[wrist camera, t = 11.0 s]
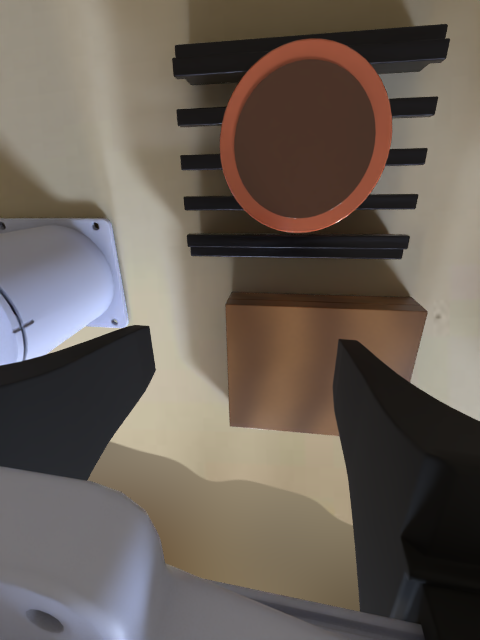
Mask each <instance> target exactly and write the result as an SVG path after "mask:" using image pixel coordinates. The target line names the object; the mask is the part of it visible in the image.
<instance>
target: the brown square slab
mask: <svg viewBox="0 0 480 640" xmlns="http://www.w3.org/2000/svg"><path fill="white" fill-rule="evenodd" d="M225 307H226V334H227V362H228V390H229V417H230V426H232V427H243V428H255V429H266V430H277V431H289V432H300V433H312V434H323V435H334V436H339V431H338V426H337V422H336V417H335V412H334V402H333V379H334V371H335V363H336V356H337V348H338V340H339V339H348V340H357V341H359V342H360V343H361V344H362V345H364V346H365V347H366V348H367V349H368V350H369V351H370V352H372V353H373V354H374V355H375V356H376V357H377V358H379V359H380V360H381V361H382V362H383V363H385V364H386V365H387V366H388V367H390V368H391V369H392V370H393V371H395V372H396V373H397V374H399V375H400V376H401V377H403V378H404V379H406V380H407V381H408V382H410V380H411V376H412V372H413V368H414V364H415V360H416V356H417V352H418V348H419V344H420V340H421V336H422V332H423V328H424V324H425V320H426V316H427V310H425V309H424V308H423V307H422V306H420V304H419V303H417V302H416V301H415V300H414V299H413V298H412V297H380V296H347V295H314V294H281V293H248V292H232V293H231V295H230V297H229V299H228V301H227V303H226V305H225Z"/></svg>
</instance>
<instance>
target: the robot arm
mask: <svg viewBox="0 0 480 640" xmlns="http://www.w3.org/2000/svg"><path fill="white" fill-rule="evenodd" d="M3 223H4V224H5V226H6V228H5V227H4V226H3ZM95 223H97V224H98V225H99V229H97V228H96V227H95ZM114 319H116V320H117V323H116V322H114ZM128 323H129V319H128V314H127V308H126V302H125V296H124V291H123V285H122V279H121V274H120V268H119V262H118V257H117V251H116V245H115V240H114V234H113V228H112V224H111V222H110V221H109V220H108V219H106V218H0V640H480V421H478V420H475V419H473V418H471V417H469V416H467V415H465V414H463V413H461V412H459V411H457V410H455V409H453V408H451V407H449V406H448V405H446V404H444V403H442V402H440V401H438V400H437V399H435V398H433V397H432V396H430V395H429V394H427V393H425V392H424V391H422V390H420V389H419V388H417V387H416V386H414V385H413V384H411V383H410V382H408V381H407V380H406V379H404V378H403V377H401V376H400V375H399V374H397V373H396V372H395V371H393V370H392V369H391V368H390V367H388V366H387V365H386V364H385V363H383V362H382V361H381V360H380V359H379V358H377V357H376V356H375V355H374V354H373V353H372V352H370V351H369V350H368V349H367V348H366V347H365V346H364V345H362V344H361V343H360V342H359V341H357V340H348V339H339V340H338V348H337V356H336V363H335V371H334V379H333V402H334V412H335V417H336V422H337V426H338V431H339V436H340V440H341V445H342V450H343V454H344V459H345V463H346V468H347V474H348V481H349V490H350V499H351V508H352V519H353V529H354V540H355V551H356V563H357V576H358V587H359V602H360V612H359V611H354V610H349V609H345V608H340V607H335V606H331V605H325V604H321V603H316V602H312V601H306V600H302V599H297V598H292V597H288V596H283V595H278V594H274V593H269V592H264V591H259V590H255V589H250V588H245V587H240V586H236V585H231V584H226V583H222V582H217V581H212V580H207V579H202V578H200V577H197V576H195V575H193V574H190V573H188V572H185V571H183V570H181V569H178V568H176V567H173V566H171V565H168V564H165V561H164V555H163V550H162V545H161V540H160V537H159V535H158V533H157V530H156V529H155V527H154V525H153V523H152V521H151V520H150V518H149V516H148V514H147V512H146V511H145V510H144V509H143V508H142V507H140V506H139V505H138V504H136V503H135V502H134V501H132V500H131V499H130V498H129V497H127V496H126V495H125V494H123V493H122V492H120V491H117V490H115V489H112V488H109V487H106V486H103V485H100V484H98V483H95V482H91V481H87V480H88V478H89V476H90V474H91V472H92V470H93V469H94V467H95V465H96V463H97V461H98V460H99V458H100V456H101V454H102V453H103V451H104V449H105V448H106V446H107V444H108V443H109V441H110V440H111V438H112V437H113V435H114V434H115V432H116V431H117V430H118V428H119V427H120V426H121V424H122V423H123V421H124V420H125V419H126V417H127V416H128V415H129V413H130V412H131V410H132V409H133V408H134V406H135V405H136V403H137V402H138V401H139V399H140V398H141V396H142V395H143V394H144V392H145V391H146V389H147V387H148V385H149V383H150V381H151V379H152V377H153V375H154V373H155V371H156V369H155V362H154V355H153V349H152V342H151V335H150V328H149V326H140V325H133V326H129V327H126V326H127V325H128ZM85 326H92V327H113V328H122V329H119V330H116V331H113V332H110V333H108V334H105V335H102V336H100V337H97V338H94V339H92V340H89V341H86V342H83V343H80V344H77V345H74V346H72V347H69V348H66V349H63V350H60V351H57V352H54V353H50V354H47V353H48V352H50V351H51V350H52V349H54V348H55V347H57V346H58V345H60V344H61V343H62V342H64V341H65V340H67V339H68V338H69V337H71V336H72V335H74V334H75V333H76V332H78V331H79V330H81V329H82V328H83V327H85ZM124 327H125V328H124ZM45 354H47V355H45Z"/></svg>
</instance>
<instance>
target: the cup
mask: <svg viewBox="0 0 480 640" xmlns="http://www.w3.org/2000/svg"><path fill="white" fill-rule="evenodd" d="M391 138H392V114H391V107H390V102H389V99H388V95H387V92H386V89H385V87H384V85H383V83H382V80H381V79H380V77H379V75H378V74H377V72H376V71H375V69H374V68H373V67H372V66H371V64H370V63H369V62H368V61H367V60H366V59H365V58H364V57H363V56H361V55H360V54H359V53H358V52H356V51H355V50H353V49H351V48H350V47H348V46H346V45H344V44H341V43H338V42H336V41H332V40H326V39H302V40H296V41H293V42H290V43H287V44H284V45H282V46H280V47H278V48H276V49H274V50H272V51H270V52H269V53H267V54H266V55H265V56H263V57H262V58H260V59H259V60H258V61H257V62H256V63H255V64H254V65H253V66H252V67H251V68H250V69H249V70H248V71H247V72H246V73H245V75H244V76H243V77H242V79H241V80H240V82H239V83H238V85H237V86H236V88H235V89H234V91H233V93H232V95H231V97H230V99H229V102H228V104H227V107H226V110H225V113H224V117H223V121H222V126H221V133H220V157H221V164H222V169H223V173H224V176H225V179H226V182H227V184H228V186H229V189H230V191H231V193H232V194H233V196H234V197H235V199H236V201H237V202H238V203H239V204H240V206H241V207H242V208H243V209H244V210H245V211H246V212H247V213H248V214H249V215H250V216H251V217H253V218H254V219H255V220H257V221H258V222H260V223H262V224H264V225H266V226H268V227H270V228H273V229H276V230H279V231H284V232H291V233H305V232H312V231H317V230H320V229H323V228H326V227H329V226H331V225H333V224H335V223H337V222H339V221H340V220H342V219H344V218H345V217H347V216H348V215H349V214H351V213H352V212H353V211H354V210H356V209H357V208H358V207H359V206H360V205H361V204H362V203H363V201H364V200H365V199H366V198H367V197H368V195H369V194H370V193H371V192H372V190H373V188H374V187H375V185H376V184H377V182H378V180H379V178H380V176H381V174H382V172H383V170H384V167H385V164H386V161H387V158H388V155H389V150H390V146H391Z"/></svg>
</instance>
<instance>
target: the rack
mask: <svg viewBox="0 0 480 640" xmlns="http://www.w3.org/2000/svg"><path fill="white" fill-rule="evenodd" d="M447 27H448V25H447V24H440V25H427V26H414V27H401V28H388V29H375V30H363V31H350V32H337V33H324V34H311V35H298V36H285V37H272V38H260V39H247V40H234V41H221V42H208V43H195V44H182V45H175V56H176V58H173V59H172V61H173V73H174V77H175V78H176V79H186V80H187V81H188V82H189V83H190V84H191V85H201V84H217V83H234V82H240V80H241V79H242V77H243V76H244V75H245V73H246V72H247V71H248V70H249V69H250V68H251V67H252V66H253V65H254V64H255V63H256V62H257V61H258V60H259V59H260V58H262V57H263V56H265V55H266V54H267V53H269V52H270V51H272V50H274V49H276V48H278V47H280V46H282V45H284V44H287V43H290V42H293V41H296V40H302V39H326V40H332V41H336V42H338V43H341V44H344V45H346V46H348V47H350V48H351V49H353V50H355V51H356V52H358V53H359V54H360V55H361V56H363V57H364V58H365V59H366V60H367V61H368V62H369V63H370V64H371V66H372V67H373V68H374V69H375V71H376V72H377V74H385V73H402V72H419V71H421V70H422V69H423V68H424V67H426V66H427V65H428V64H429V63H441V62H442V61H444V60H445V59H446V56H447V52H448V47H449V42H450V39H449V38H446V39H445V37H446V32H447ZM437 101H438V97H437V96H436V97H416V98H396V99H389V102H390V107H391V114H392V118H416V117H431V116H433V115H434V114H435V111H436V106H437ZM225 110H226V107H213V108H193V109H177V122H178V126H180V127H198V126H222V121H223V117H224V113H225ZM426 155H427V148H413V149H390V150H389V155H388V158H387V161H386V164H385V166H409V165H424V164H425V159H426ZM180 158H181V169H182V170H185V171H186V170H223V169H222V164H221V157H220V154H207V155H181V156H180ZM417 199H418V194H369V195H368V197H367V198H366V199H365V200H364V201H363V203H362V204H361V205H360V206H359V207H358V208H357V209H356V210H363V209H415V208H416V204H417ZM184 207H185V210H244V209H243V208H242V207H241V206H240V204H239V203H238V202H237V201H236V199H235V197H234V196H187V197H184ZM409 238H410V236H408V235H391V234H218V233H201V234H188V235H187V243H188V247H191V256H216V257H283V258H349V259H401V258H402V254H403V249H407V248H408V243H409Z"/></svg>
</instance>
